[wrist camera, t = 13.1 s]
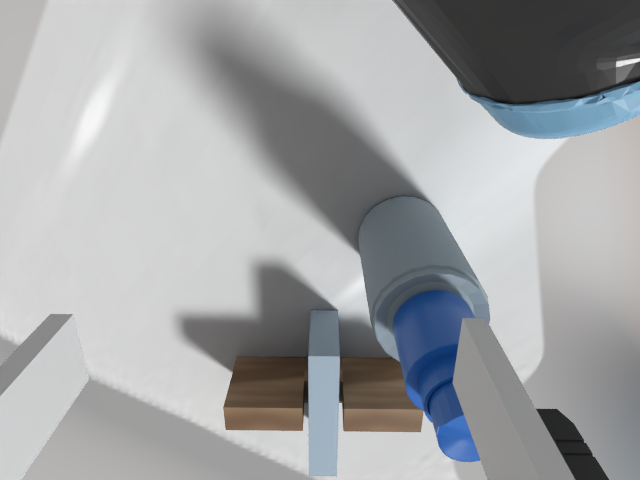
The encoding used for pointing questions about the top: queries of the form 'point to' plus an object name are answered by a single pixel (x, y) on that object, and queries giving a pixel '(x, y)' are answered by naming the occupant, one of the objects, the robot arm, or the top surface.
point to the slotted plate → (323, 392)
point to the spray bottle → (422, 308)
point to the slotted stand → (292, 391)
